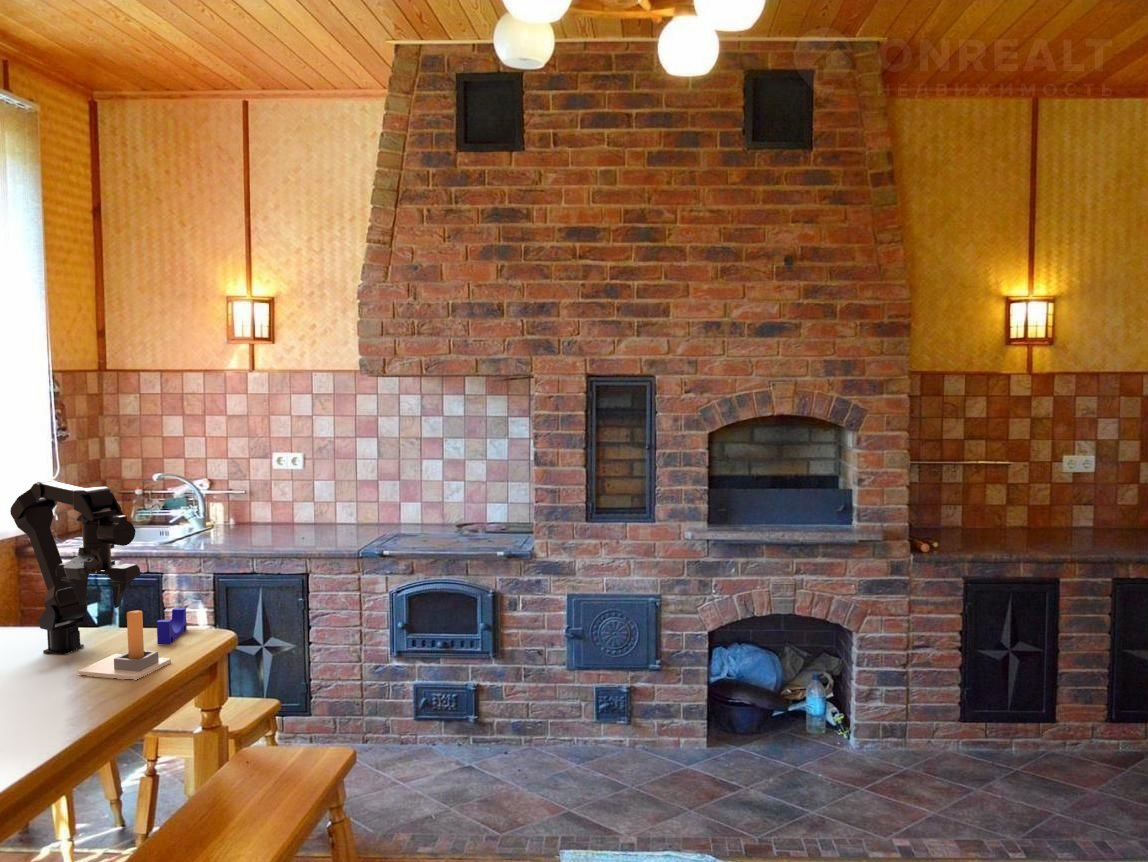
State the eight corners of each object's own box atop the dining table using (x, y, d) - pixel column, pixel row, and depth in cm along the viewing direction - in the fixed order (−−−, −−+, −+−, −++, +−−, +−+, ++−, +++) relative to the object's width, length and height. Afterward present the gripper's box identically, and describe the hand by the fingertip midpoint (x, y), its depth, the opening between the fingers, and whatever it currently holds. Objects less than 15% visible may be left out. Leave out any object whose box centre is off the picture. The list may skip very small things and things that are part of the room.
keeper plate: (78, 675, 210) (77, 660, 209) (115, 657, 221) (114, 643, 221) (136, 680, 206) (135, 665, 206) (170, 662, 218) (170, 648, 218)
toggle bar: (126, 668, 211) (124, 614, 210) (131, 663, 214) (129, 610, 213) (141, 667, 212) (139, 614, 211) (146, 662, 215) (144, 610, 214)
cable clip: (169, 630, 243) (168, 608, 242) (186, 630, 243) (185, 607, 243) (151, 645, 231) (150, 621, 230) (169, 645, 231) (169, 621, 231)
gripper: (35, 546, 211) (39, 613, 213) (107, 550, 207) (110, 618, 209) (72, 536, 222) (75, 600, 223) (140, 540, 218) (143, 605, 219)
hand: (99, 606), depth 218 cm, fingers open, 9 cm apart
